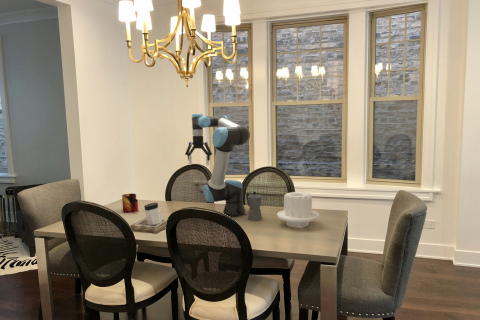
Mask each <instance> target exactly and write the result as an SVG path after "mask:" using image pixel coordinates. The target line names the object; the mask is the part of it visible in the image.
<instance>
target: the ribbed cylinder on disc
mask: <svg viewBox="0 0 480 320" xmlns="http://www.w3.org/2000/svg"><path fill="white" fill-rule="evenodd" d="M312 201H313V196H312V194H310V193H308V192H303V191H302V192H301V191H292V192H287V193H285V194H284V195H283V210H280V211H278V212H277V214H276V216H277V217H276V218H278V219H279V220H282V221H286V226H287V227H291V228H295V229H303V228H305V227H307V226H309V225H310V222H313V221H316V220H318V219H320V213H319V212H318V211H314V210H313V209H312V208H313V206H312V205H313V202H312Z"/></svg>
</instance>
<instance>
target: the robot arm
mask: <svg viewBox="0 0 480 320" xmlns="http://www.w3.org/2000/svg"><path fill="white" fill-rule="evenodd" d="M191 123H192V125H191V128H192V129H191V130H192V131H191V132H192V141H190V142H188V147H187V148H186V151H185V153H184V154H185V156H187V160H188V165H189V166H191V165H192V164H193V163H192V153H194V151H195V150H196V149H198V150H199V149H200V150H202V151H203V152H204V154H205V155H206V156H205V161H206V162H205V163H206V164H205V165H206V166H209V165H210V164H209V163H210V160H211V158H210V157H211V156H213V153H212V150H211V148H210V146H209V143H208V141H207V142H204V128H205V129H206V128H215V129H214V131H213V134H212V140H211V141H212V145H213V147H214V149H215V150H216V151H215V155H214V156H215V157H214V161H213V166H212V172H211V177H210V179H209V180H208V181H207V184H204V186H203V187H202V190H203V191H202V192H203V196H204V199H205V201H206V202H207V203H217V202H224V201H225V204H224V207H223V212H222V214H223V213H224V214H226V215H228V216H230V217H229V218H240V217H244V216H245V215H246V213H247V212H246V208H245V205H244V199H243V197H244V195H243V183H242V182H241V181H239V180H234V179H226V175H227V169H228V164H229V161H230V155H231V152H233V151H234V148H235V147H236V146H243V145H246V143H248V141H249V140H250V138H251V132H250V129H249V128H248V127H247V126H245V125H242V124H237V123H235V122H234V121H231V120H229V118H228V116H227V115H211V116H210V115H209V116H206V115H203V114H202V113H192V114H191Z"/></svg>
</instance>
